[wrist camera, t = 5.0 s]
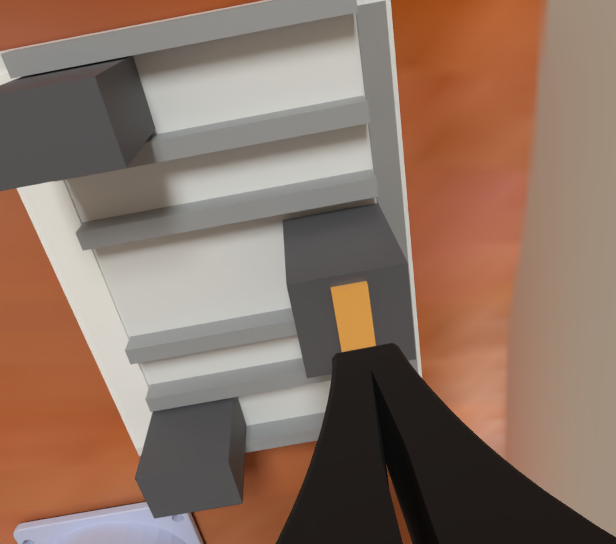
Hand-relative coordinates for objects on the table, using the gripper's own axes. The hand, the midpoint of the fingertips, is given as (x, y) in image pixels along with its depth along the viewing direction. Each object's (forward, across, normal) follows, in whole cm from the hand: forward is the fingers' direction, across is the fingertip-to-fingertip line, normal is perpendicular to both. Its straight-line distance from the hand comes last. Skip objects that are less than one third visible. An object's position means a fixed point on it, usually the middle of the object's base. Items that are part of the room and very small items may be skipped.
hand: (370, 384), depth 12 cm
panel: (+8, +3, 0) cm, 9 cm away
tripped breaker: (+6, 0, 0) cm, 7 cm away
